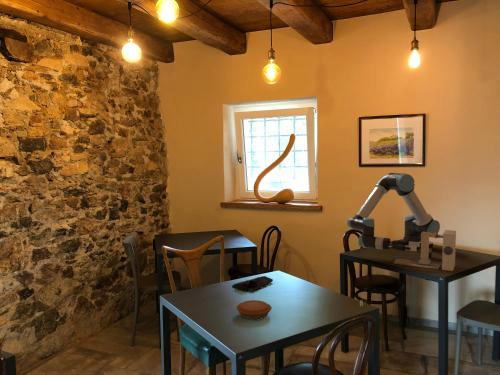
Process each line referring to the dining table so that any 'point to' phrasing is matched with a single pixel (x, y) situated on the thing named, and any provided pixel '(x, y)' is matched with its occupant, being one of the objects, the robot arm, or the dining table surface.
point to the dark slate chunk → (252, 284)
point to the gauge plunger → (438, 236)
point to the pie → (253, 309)
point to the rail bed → (416, 263)
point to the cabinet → (448, 250)
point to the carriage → (425, 247)
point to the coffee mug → (429, 249)
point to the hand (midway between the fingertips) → (418, 246)
